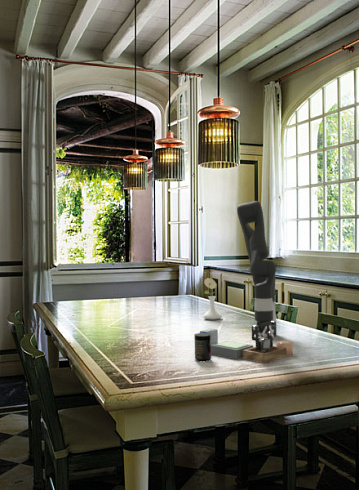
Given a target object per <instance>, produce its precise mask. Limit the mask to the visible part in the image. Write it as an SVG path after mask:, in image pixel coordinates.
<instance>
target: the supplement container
mask: <svg viewBox="0 0 359 490" xmlns="http://www.w3.org/2000/svg"><path fill="white" fill-rule="evenodd" d="M194 360H195V361H197V362H200V361H202V362H203V361H205V362H209V360H210V361H211V360H212V354H211V334H209V333H200V332H199V333H195V334H194ZM203 363H204V362H203Z"/></svg>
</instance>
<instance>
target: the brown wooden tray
mask: <svg viewBox="0 0 359 490" xmlns="http://www.w3.org/2000/svg"><path fill="white" fill-rule="evenodd" d="M286 357H287V356H286V348H280V347H276V345H273V347H270V352H268V353H260V352H259V351H258V350H256V346H253V347H252V348H249V349H245V350H243V358H242V360H248V361H253V362H258V363H262V364H267V363H270V362H273V361H277V360H280V359H283V358H286Z"/></svg>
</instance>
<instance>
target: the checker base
mask: <svg viewBox="0 0 359 490" xmlns="http://www.w3.org/2000/svg"><path fill="white" fill-rule="evenodd" d="M227 341H228V340H226V341H222V342H218V344H220V343H224V342H227ZM228 342H231V341H228ZM233 342H234V343H237V342H236V341H233ZM239 343H240V344H243V343H241V342H239ZM246 345H248V346H246V347H242V348H239V349H233V348H227V347H221V346H216V344H214V345H211V355H212V354H214V355H213V356H217V355H219V356H218V357H222V356H223V358H229V359H234V360H239V359H243V350H245V349H249V348H252V347H254V345H253V344H246Z"/></svg>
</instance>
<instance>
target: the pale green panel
mask: <svg viewBox="0 0 359 490" xmlns="http://www.w3.org/2000/svg"><path fill="white" fill-rule="evenodd" d="M226 341H227V342H226ZM226 341H223V342H224V343H222V342H219V343H220V344H216V346H221V347H227V348H233V349H239V348H242V347H246V346H248V345H249V344H248V345H246V344H245V343H242V344H240V343H241V342H236V343H234V342H235V341H230V342H228V340H226Z"/></svg>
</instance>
